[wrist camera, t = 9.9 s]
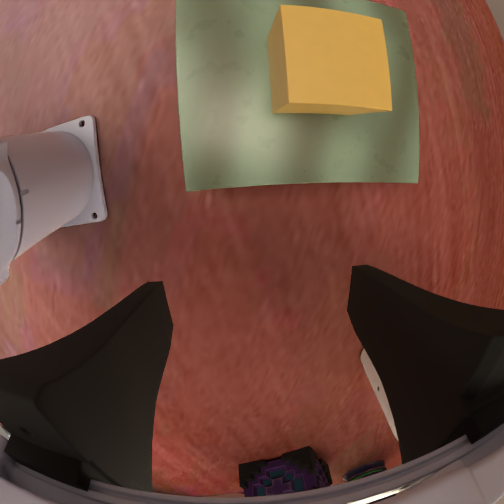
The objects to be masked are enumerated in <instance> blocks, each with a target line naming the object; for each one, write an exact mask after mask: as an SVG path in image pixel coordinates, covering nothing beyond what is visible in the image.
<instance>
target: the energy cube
mask: <svg viewBox="0 0 504 504" xmlns="http://www.w3.org/2000/svg"><path fill="white" fill-rule="evenodd" d="M239 480H240V487H242V488H243V489H244V494H245V497H258V496H271V495H280V494H288V493H296V492H302V491H308V490H314V489H319V488H324V487H329V486H330V485H331V484H332V479H331V475H330V471H329V467H328V464H326V463H325V462H324V461H323V460H322V459H321V460H317V454H316V453H315V452H314V451H313V450H312V449H311V448H310V447H309V446H308V447H305V448H302V449H299V450H295V451H292V452H289V453H285V454H282V457H281V459H277V460H273V461H269V462H266V461H264V460H259V461H254V462H250V463H245V464H240V465H239Z"/></svg>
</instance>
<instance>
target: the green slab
mask: <svg viewBox="0 0 504 504" xmlns="http://www.w3.org/2000/svg"><path fill="white" fill-rule="evenodd" d="M280 5H295V6H307V7H317V8H325V9H332V10H338V11H344V12H350V13H355V14H360V15H364V16H369V17H373V18H377V19H381V20H382V24H383V30H384V36H385V42H386V49H387V56H388V64H389V73H390V84H391V97H392V111H385V112H375V113H366V114H357V115H339V114H317V113H272V101H271V86H270V72H269V58H268V46H267V37H268V35H269V32H270V30H271V27H272V24H273V22H274V19H275V17H276V14H277V12H278V9H279V7H280ZM175 40H176V74H177V94H178V110H179V124H180V137H181V148H182V159H183V169H184V179H185V188H186V192H190V191H199V190H209V189H220V188H232V187H245V186H260V185H277V184H298V183H333V182H387V183H418V174H419V109H418V93H417V82H416V72H415V64H414V57H413V50H412V44H411V38H410V33H409V27H408V23H407V18H406V14H405V11H402V10H399V9H396V8H393V7H390V6H386V5H383V4H379V3H375V2H372V1H368V0H175Z"/></svg>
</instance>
